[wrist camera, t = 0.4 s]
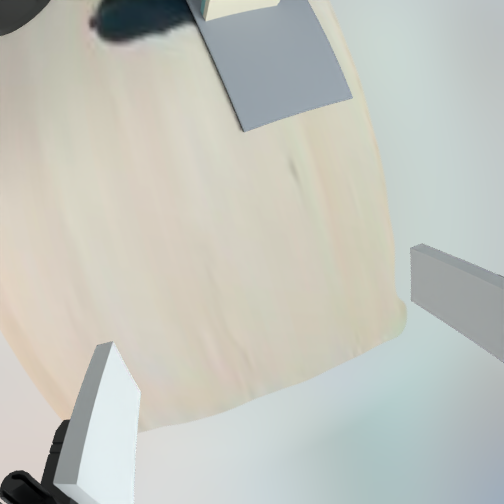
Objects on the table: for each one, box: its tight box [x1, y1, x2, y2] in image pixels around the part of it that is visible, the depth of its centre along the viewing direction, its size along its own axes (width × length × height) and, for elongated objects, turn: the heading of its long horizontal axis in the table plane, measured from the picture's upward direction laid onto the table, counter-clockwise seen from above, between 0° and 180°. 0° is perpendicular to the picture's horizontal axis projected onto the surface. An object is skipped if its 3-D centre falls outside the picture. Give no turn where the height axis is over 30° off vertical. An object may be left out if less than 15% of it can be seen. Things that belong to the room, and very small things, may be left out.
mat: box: [186, 0, 353, 132], centre depth 32 cm, size 22×16×1 cm
